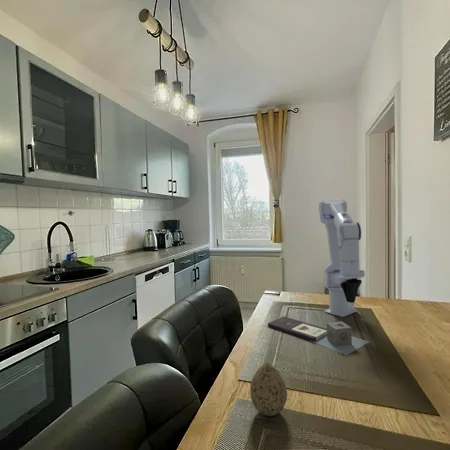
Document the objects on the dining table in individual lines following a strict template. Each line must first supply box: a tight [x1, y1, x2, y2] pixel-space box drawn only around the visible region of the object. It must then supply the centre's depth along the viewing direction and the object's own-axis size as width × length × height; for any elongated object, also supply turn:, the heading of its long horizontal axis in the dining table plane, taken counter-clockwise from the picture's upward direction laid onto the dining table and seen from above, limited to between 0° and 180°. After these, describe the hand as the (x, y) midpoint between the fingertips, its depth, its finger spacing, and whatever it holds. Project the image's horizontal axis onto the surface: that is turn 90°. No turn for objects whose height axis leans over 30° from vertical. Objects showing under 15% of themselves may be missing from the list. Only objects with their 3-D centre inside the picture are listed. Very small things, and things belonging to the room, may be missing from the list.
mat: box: [309, 334, 370, 356], centre depth 87 cm, size 12×12×1 cm
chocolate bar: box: [267, 316, 327, 342], centre depth 97 cm, size 9×1×18 cm
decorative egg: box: [249, 362, 288, 417], centre depth 58 cm, size 7×7×10 cm
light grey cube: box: [326, 320, 352, 346], centre depth 87 cm, size 5×5×5 cm
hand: (350, 301), depth 95 cm, fingers closed
